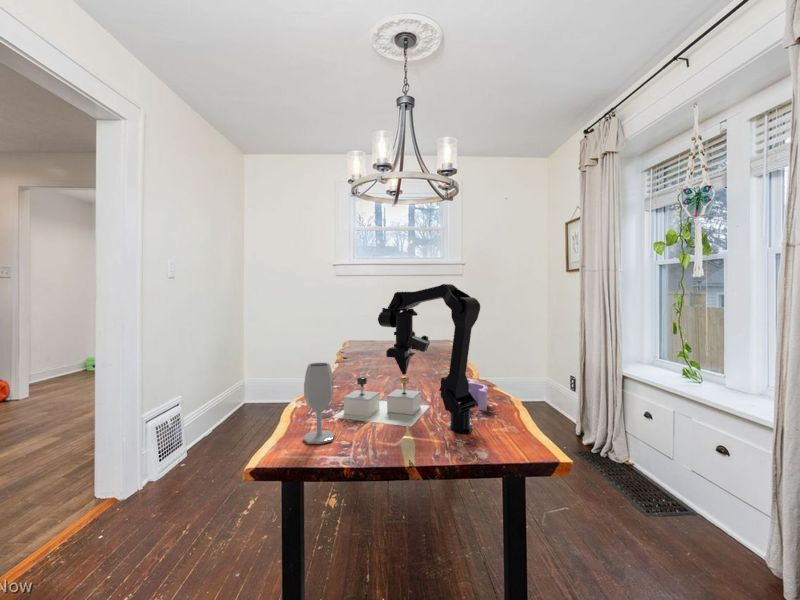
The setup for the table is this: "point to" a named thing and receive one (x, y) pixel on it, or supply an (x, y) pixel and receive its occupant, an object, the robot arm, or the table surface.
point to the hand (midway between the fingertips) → (404, 374)
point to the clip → (478, 394)
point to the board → (387, 416)
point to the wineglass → (318, 398)
